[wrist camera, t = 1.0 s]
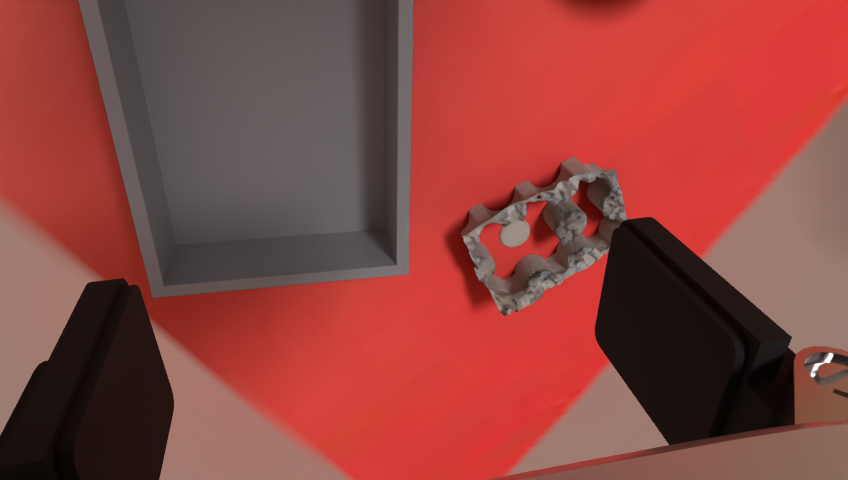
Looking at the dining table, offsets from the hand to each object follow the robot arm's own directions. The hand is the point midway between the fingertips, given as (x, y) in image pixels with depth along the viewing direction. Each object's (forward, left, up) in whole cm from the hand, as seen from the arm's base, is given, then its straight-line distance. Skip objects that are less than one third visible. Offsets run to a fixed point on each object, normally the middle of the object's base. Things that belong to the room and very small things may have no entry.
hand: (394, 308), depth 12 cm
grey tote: (+3, -3, -24) cm, 24 cm away
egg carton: (+12, +14, -24) cm, 30 cm away
